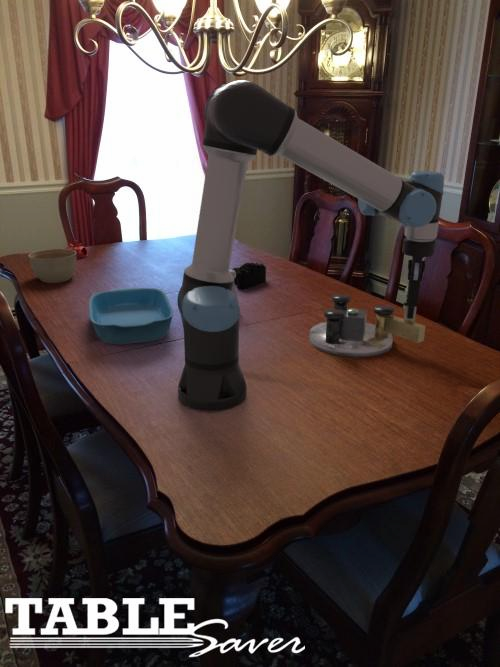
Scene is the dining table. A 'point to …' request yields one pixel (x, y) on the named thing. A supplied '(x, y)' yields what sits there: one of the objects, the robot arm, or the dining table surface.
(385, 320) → the brass bar with knob
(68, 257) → the planter bowl
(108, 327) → the casserole dish
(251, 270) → the film camera
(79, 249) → the pomegranate
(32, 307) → the dining table surface
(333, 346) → the levelling base
